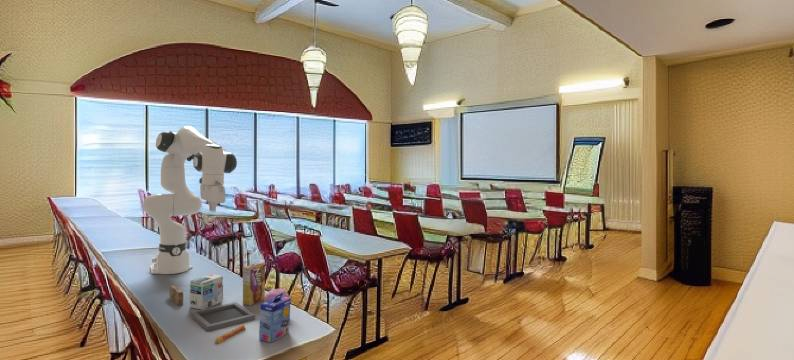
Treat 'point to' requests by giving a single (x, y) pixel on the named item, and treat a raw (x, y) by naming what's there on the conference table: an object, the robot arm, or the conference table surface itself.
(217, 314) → the grey shallow rectangular tray
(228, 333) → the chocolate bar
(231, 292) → the conference table surface
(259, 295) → the candy box
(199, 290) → the light bulb box
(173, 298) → the wooden blocks
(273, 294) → the cupcake
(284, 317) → the ink cartridge box
